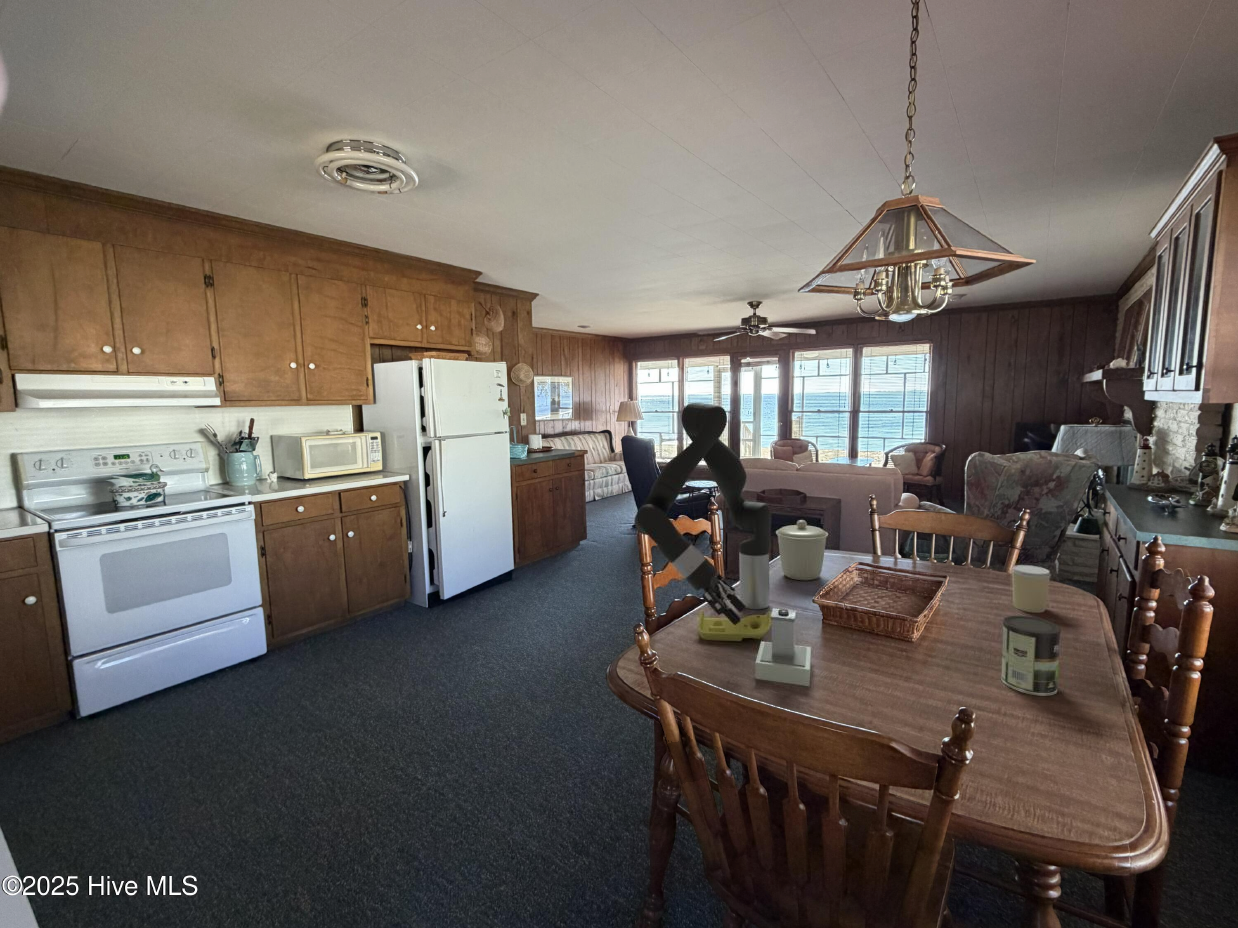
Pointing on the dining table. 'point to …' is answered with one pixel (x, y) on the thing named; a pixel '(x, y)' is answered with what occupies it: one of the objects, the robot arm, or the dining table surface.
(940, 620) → the dining table surface
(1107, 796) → the dining table surface
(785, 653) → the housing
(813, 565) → the canister
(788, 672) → the stand
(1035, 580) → the cream jar
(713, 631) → the plastic component
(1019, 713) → the dining table surface
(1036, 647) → the coffee can
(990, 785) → the dining table surface
